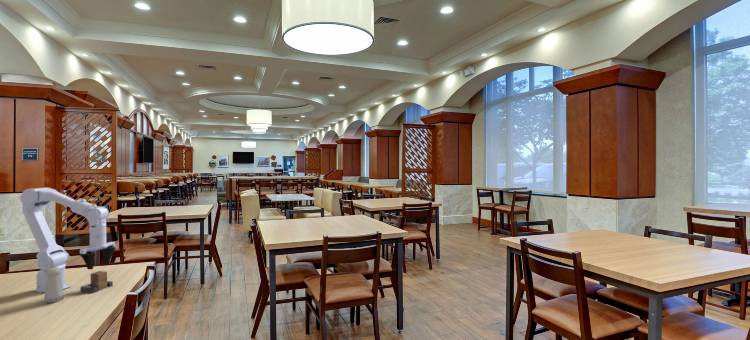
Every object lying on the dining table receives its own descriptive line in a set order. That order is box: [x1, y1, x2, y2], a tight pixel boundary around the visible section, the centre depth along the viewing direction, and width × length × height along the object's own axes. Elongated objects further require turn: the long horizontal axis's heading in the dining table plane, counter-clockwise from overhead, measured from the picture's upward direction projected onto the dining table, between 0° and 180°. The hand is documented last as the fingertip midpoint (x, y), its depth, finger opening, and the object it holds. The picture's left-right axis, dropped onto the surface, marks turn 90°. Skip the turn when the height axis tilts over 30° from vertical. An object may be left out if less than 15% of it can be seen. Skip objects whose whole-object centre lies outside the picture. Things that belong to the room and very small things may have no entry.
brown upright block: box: [90, 270, 108, 292], centre depth 156 cm, size 4×4×7 cm
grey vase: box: [43, 267, 65, 304], centre depth 142 cm, size 6×6×13 cm
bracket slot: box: [79, 280, 114, 293], centre depth 157 cm, size 7×9×2 cm
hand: (98, 266), depth 157 cm, fingers open, 7 cm apart
